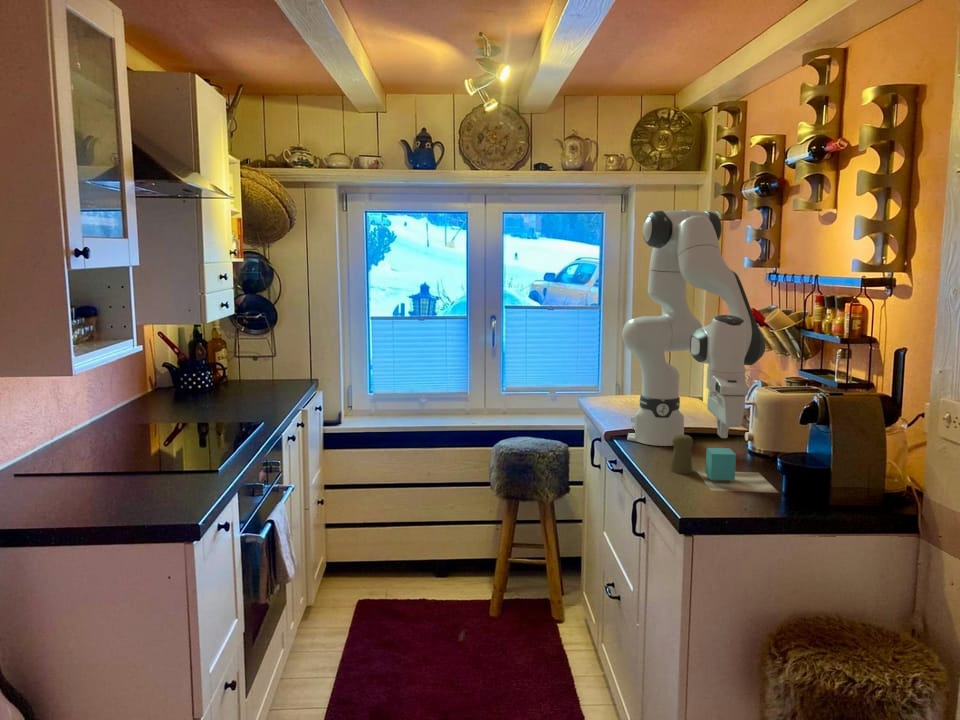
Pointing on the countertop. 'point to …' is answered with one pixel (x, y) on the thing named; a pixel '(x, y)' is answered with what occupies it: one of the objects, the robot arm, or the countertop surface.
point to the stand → (740, 483)
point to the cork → (682, 454)
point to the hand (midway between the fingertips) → (722, 436)
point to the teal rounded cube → (720, 464)
